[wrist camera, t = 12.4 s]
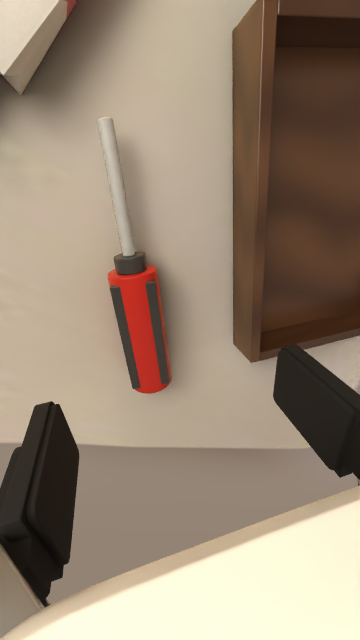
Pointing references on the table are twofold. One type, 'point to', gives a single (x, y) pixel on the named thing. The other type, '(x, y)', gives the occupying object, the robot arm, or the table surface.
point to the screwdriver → (134, 287)
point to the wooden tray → (296, 175)
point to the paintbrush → (28, 35)
